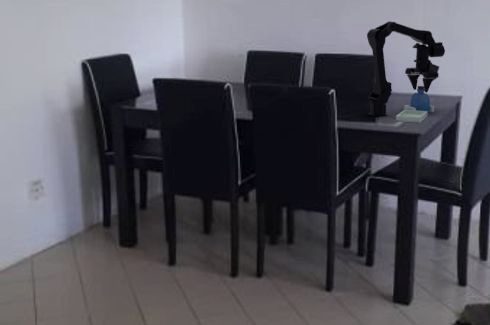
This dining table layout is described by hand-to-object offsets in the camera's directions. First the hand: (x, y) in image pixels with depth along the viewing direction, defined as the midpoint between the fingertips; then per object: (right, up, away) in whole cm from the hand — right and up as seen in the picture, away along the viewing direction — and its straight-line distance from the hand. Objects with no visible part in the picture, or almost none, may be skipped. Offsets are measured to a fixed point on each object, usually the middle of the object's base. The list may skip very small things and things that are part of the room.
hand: (420, 91), depth 308 cm
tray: (-8, -14, -13) cm, 21 cm away
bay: (0, -9, +3) cm, 10 cm away
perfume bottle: (0, -10, +3) cm, 10 cm away
